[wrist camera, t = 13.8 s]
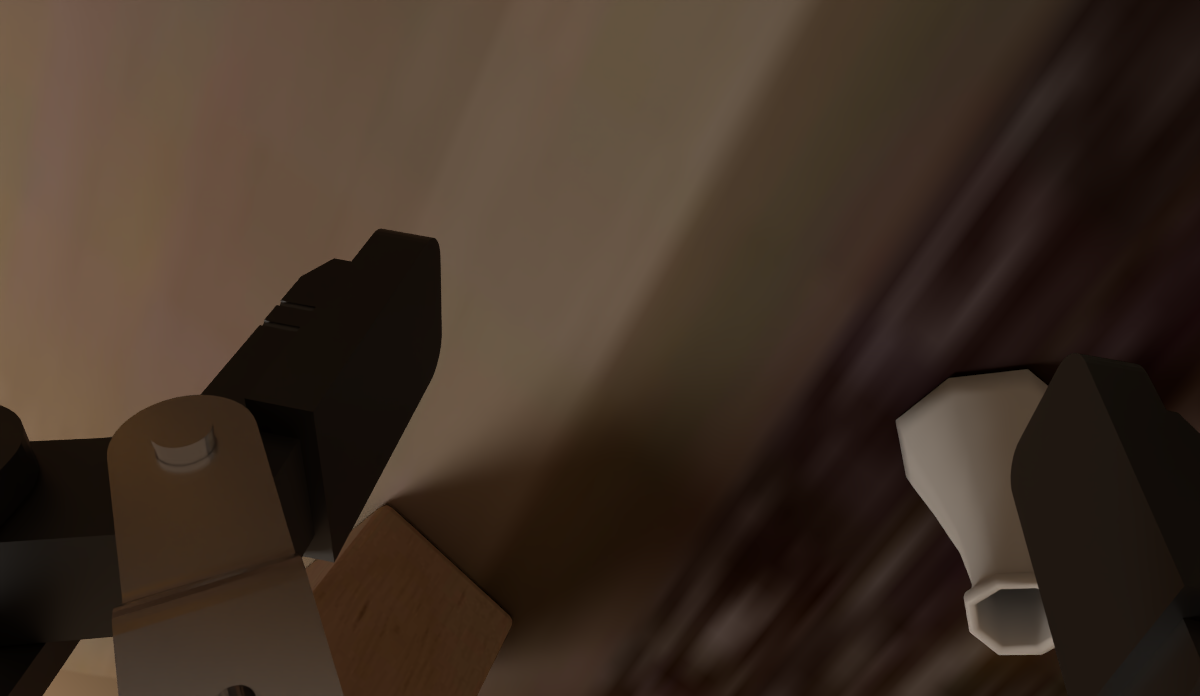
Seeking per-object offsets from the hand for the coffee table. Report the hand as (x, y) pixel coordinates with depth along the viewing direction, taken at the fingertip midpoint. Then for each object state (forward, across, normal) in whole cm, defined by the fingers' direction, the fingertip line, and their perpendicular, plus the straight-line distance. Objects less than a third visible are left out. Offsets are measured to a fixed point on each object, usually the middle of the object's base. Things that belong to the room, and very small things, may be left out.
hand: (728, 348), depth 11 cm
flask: (+20, -13, +17) cm, 29 cm away
